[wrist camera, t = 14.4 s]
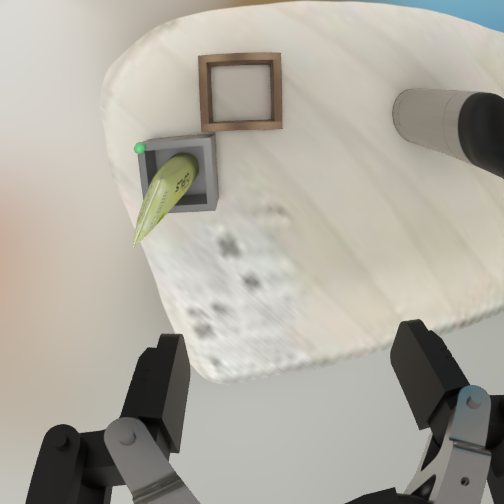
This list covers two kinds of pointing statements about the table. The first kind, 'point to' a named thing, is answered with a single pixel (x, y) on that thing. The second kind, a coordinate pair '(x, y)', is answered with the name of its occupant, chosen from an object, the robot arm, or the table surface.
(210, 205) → the socket block
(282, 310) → the table surface
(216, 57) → the brown wooden square frame
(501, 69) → the table surface
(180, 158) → the tube
